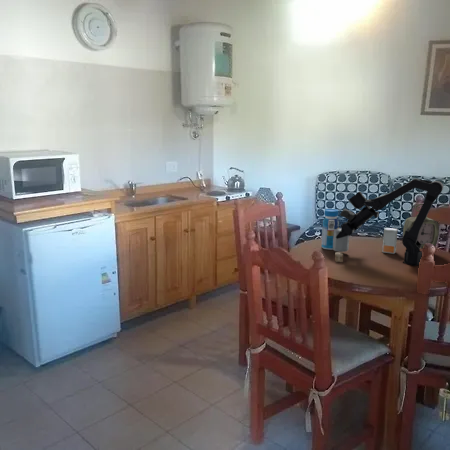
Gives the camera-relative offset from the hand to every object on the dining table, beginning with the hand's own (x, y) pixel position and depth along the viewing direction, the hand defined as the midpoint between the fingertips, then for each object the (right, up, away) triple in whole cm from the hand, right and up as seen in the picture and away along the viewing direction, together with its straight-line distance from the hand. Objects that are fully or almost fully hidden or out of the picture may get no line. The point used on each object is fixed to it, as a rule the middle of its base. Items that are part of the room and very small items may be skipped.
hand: (338, 236), depth 228 cm
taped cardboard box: (-3, -11, -11) cm, 16 cm away
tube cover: (+1, -7, +1) cm, 7 cm away
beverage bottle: (-2, -6, +12) cm, 14 cm away
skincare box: (+26, -8, +4) cm, 28 cm away
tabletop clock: (+41, -8, +4) cm, 42 cm away
